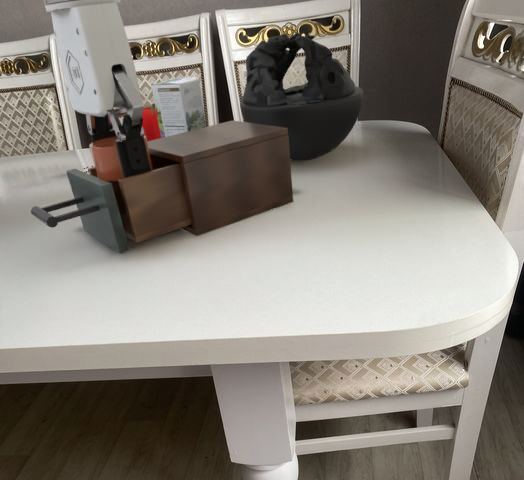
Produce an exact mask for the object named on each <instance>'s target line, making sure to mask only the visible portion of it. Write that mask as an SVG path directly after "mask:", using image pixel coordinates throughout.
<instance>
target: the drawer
mask: <svg viewBox="0 0 524 480" xmlns="http://www.w3.org/2000/svg"><path fill="white" fill-rule="evenodd" d="M150 156H151V161H152V166H153V170H152V171H148V172H145V173H141V174H138V175H134V176H130V177H127V178H123V179H120V180H118V181H119V182H110V181H105V180H102V179H100V178H98V176H97V173H96V169H95V166H93V167H88V168H87V170H88V173H87V172H85V171H82V170H80V169H77V168H72V169H68V170H66V176H67V179H68V182H69V186H70V188H71V192H72V195H73V197H74V198H70V199H67V200H64V201H60V202H57V203H52V204H49V205H46V206H43V207H40V206H38V205H35V206H32V207H31V209H30V213H31V215H32V216H33V217H34V218H36V219H38V220H39V221H40V222H42V223H43V224H45V225H46V226H47V227H49V228H52V229H53V228H56V227H57V226H58V224H59V223H63V222H66V221H69V220H72V219H76V218H80V222H81V224H82V228H83V230H84V232H85V233H86V234H88V235H90V236H91V237H93V238H94V239H95V240H98V241H99V242H101V243H103V244H104V245H105V246H107V247H109V248H111V249H112V250H114V251H116V252H117V253H119V254H120V255H121V254H123V253H126V252H129V251H130V247H129V242H128V240H127V239H129V240H130V241H132V242H134V243H136V244H139V243H141V242H144V241H147V240H150V239H153V238H155V237H158V236H161V235H164V234H167V233H170V232H173V231H177V230H179V229H180V228H182V227H185V226H188V225H191V224H192V221H191V216H190V211H189V205H188V200H187V195H186V189H185V184H184V179H183V174H182V168H181V162H177V161H173V160H169V159H166V158H162V157H158V156H155V155H151V154H150ZM71 206H76V208H77V209H75V210H71V211H69V212H65V213H61V214H59V215H55V216H53V215H52V214H51V212H54V211H55V212H56V211H58V210H61V209H65V208H69V207H71Z"/></svg>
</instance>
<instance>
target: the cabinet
mask: <svg viewBox="0 0 524 480" xmlns="http://www.w3.org/2000/svg"><path fill="white" fill-rule="evenodd" d="M147 143H148V147H149V152H150V154H151V155H155V156H158V157H162V158H166V159H169V160H173V161H177V162H181V168H182V174H183V179H184V184H185V189H186V195H187V200H188V205H189V211H190V216H191V221H192V224H191V225H188V226H185V227H182V228H179V229H181V230H183V231H184V232H187V233H189V234H192V235H193V236H195V237H199V236H202V235H205V234H207V233H210V232H213V231H216V230H219V229H222V228H225V227H227V226H229V225H232V224H235V223H239V222H241V221H243V220H247V219H249V218H252V217H255V216H258V215H261V214H263V213H266V212H269V211H272V210H274V208H275V209H277V208H280V207H283V206H286V205H289V204H292V203H293V202H294V193H293V178H292V165H291V160H290V151H289V138H288V128H284V127H277V126H270V125H262V124H255V123H247V122H245V121H239V120H234V119H233V120H229V121H225V122H220V123H217V124H213V125H210V126H209V125H208V126H206V127H204V128H200V129H196V130H192V131H188V132H184V133H180V134H176V135H172V136H168V137H164V138H160V139H156V140H152V141H148V142H147ZM288 203H289V204H288ZM285 204H286V205H285ZM271 209H272V210H271Z"/></svg>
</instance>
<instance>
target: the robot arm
mask: <svg viewBox="0 0 524 480" xmlns="http://www.w3.org/2000/svg"><path fill="white" fill-rule="evenodd" d="M121 3H122V1H121V0H43V4H44V7H45V12H46V13H51V21H52V28H53V33H54V40H55V44H56V49H57V53H58V59H59V62H60V66H61V70H62V74H63V79H64V84H65V87H66V91H67V96H68V100H69V103H70V106H71V107H72V109H73V110H74V111H75V112H77V113H79V114H82V115H83V117H84V118H85V119H86V126H87V131H88V133H89V134H90V140H91V143H93V142H95V141H97V140H101V139H104V138H108V137H113V136H117V137H118V140H119V141H117V142H115V143H116V147H117V151H118V155H119V159H120V163H121V167H122V171H123V175H124V177H125V178H127V177H130V176H134V175H138V174H141V173H145V172H148V171H151V168H150V163H149V159H148V154H147V150H146V145H145V141H144V129H143V127H142V124H143V119H142V114H143V108H144V107H145V104H144V102H143V99H142V97H141V90H140V85H139V80H138V75H137V71H136V66H135V62H134V58H133V55H132V54H133V53H132V50H131V46H130V43H129V39H128V36H127V32H126V28H125V25H124V22H123V19H122V16H121V12H120V8H119V5H118V4H121ZM121 118H122V123H121Z"/></svg>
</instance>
